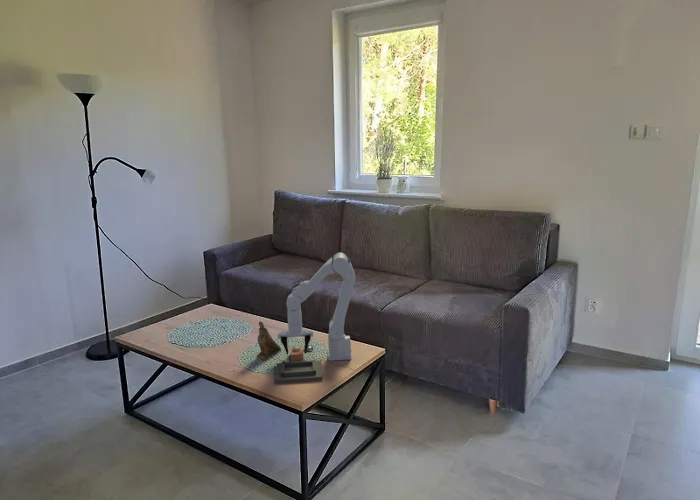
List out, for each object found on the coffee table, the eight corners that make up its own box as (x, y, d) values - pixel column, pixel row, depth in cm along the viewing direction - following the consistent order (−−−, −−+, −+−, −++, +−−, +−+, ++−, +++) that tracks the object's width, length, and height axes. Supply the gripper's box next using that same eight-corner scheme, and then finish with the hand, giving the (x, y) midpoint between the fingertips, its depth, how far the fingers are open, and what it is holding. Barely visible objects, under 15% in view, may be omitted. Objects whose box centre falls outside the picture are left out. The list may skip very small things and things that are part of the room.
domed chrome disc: (313, 347, 220) (313, 344, 219) (313, 351, 216) (313, 348, 216) (304, 348, 219) (304, 345, 219) (304, 352, 216) (304, 348, 215)
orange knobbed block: (302, 353, 214) (301, 342, 213) (303, 362, 205) (302, 351, 204) (290, 354, 214) (290, 343, 212) (291, 363, 205) (290, 352, 204)
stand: (321, 363, 203) (321, 357, 203) (322, 380, 190) (322, 373, 189) (277, 366, 202) (276, 360, 201) (274, 383, 188) (274, 376, 188)
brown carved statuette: (264, 365, 209) (255, 329, 202) (255, 362, 212) (246, 326, 205) (283, 350, 218) (275, 315, 210) (274, 347, 221) (266, 312, 214)
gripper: (312, 317, 210) (313, 347, 213) (277, 319, 209) (279, 349, 212) (312, 324, 203) (313, 354, 206) (276, 326, 202) (278, 356, 205)
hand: (296, 352), depth 209 cm, fingers open, 7 cm apart
